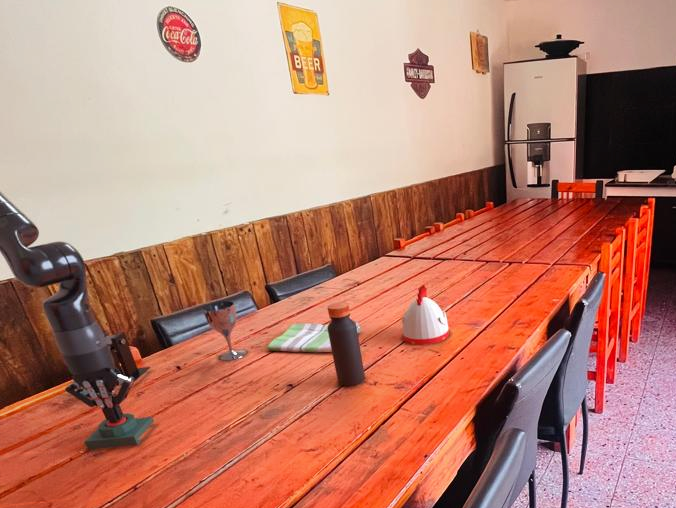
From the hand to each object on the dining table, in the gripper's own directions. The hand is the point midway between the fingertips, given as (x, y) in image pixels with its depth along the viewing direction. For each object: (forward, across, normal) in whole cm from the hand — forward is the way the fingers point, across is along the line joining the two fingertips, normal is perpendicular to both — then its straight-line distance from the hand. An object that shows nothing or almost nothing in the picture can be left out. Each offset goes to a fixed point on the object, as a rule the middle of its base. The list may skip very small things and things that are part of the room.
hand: (116, 420), depth 108 cm
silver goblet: (+4, -10, -41) cm, 42 cm away
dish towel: (+4, -33, -46) cm, 57 cm away
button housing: (+4, 0, 0) cm, 4 cm away
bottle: (+4, -47, -17) cm, 50 cm away
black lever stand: (+4, +14, -30) cm, 33 cm away
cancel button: (+2, 0, 0) cm, 2 cm away
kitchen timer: (+4, -66, -43) cm, 79 cm away
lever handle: (-3, +14, -27) cm, 30 cm away
